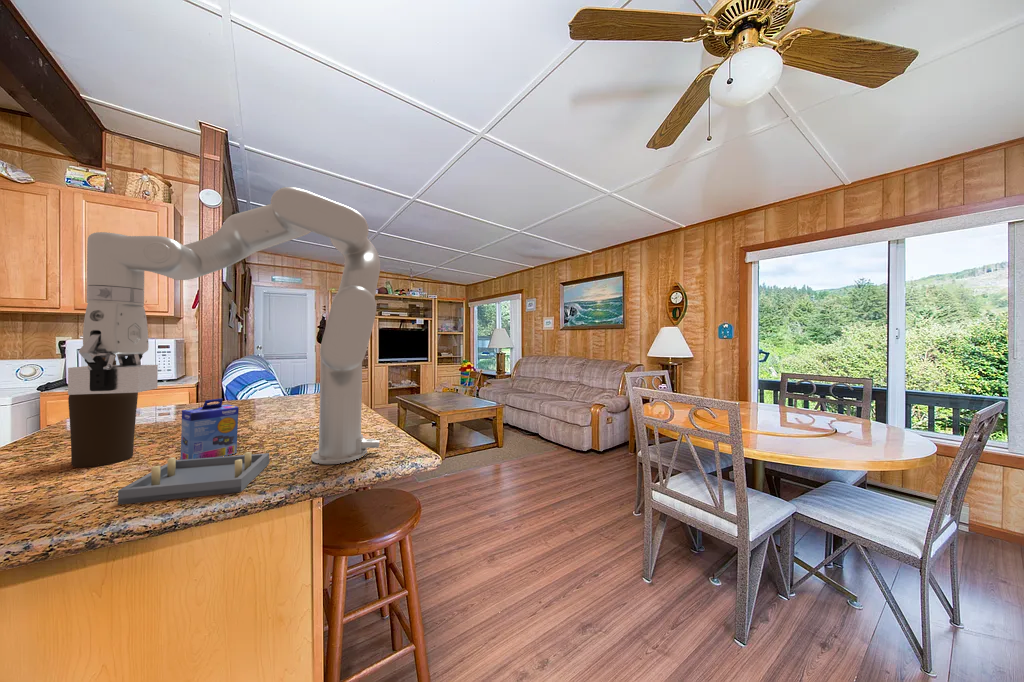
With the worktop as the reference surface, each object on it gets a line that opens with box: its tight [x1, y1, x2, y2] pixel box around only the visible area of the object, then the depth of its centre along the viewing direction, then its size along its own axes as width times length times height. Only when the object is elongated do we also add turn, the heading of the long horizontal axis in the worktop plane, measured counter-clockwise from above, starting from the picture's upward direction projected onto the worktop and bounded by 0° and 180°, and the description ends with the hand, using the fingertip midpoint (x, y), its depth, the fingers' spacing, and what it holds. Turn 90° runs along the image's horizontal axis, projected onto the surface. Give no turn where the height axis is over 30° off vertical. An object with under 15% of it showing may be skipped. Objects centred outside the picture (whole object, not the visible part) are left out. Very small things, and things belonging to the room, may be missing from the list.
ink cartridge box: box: [180, 397, 240, 460], centre depth 85 cm, size 10×6×14 cm, turn 152°
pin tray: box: [117, 451, 270, 506], centre depth 71 cm, size 18×16×4 cm
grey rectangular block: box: [67, 364, 159, 396], centre depth 69 cm, size 10×6×5 cm, turn 110°
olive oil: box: [67, 354, 139, 468], centre depth 82 cm, size 11×11×25 cm
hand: (115, 387), depth 69 cm, fingers closed on grey rectangular block, 6 cm apart
